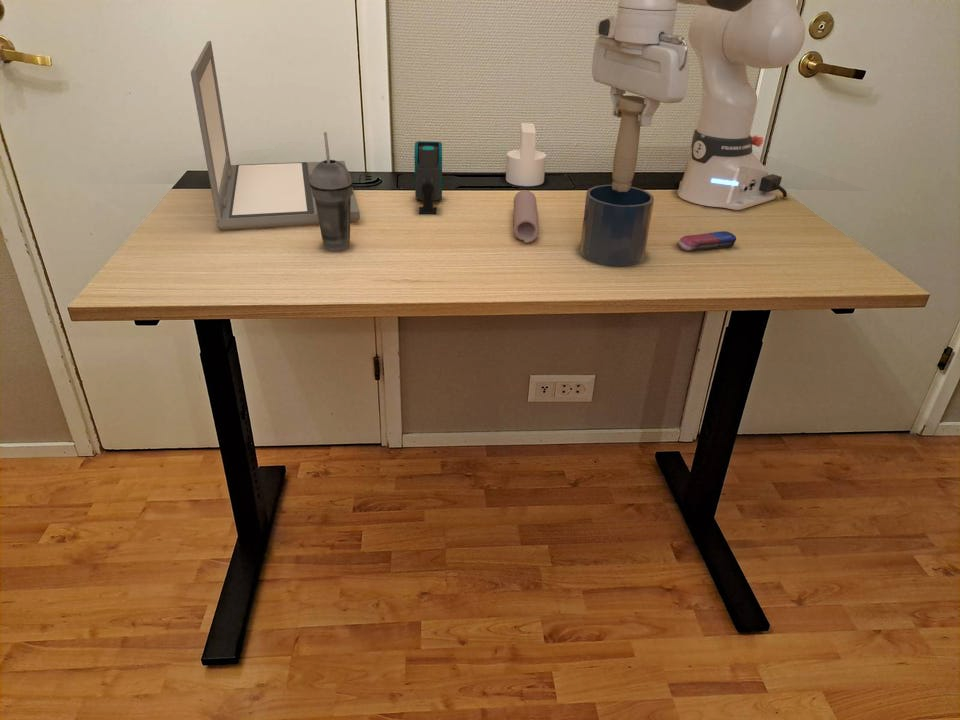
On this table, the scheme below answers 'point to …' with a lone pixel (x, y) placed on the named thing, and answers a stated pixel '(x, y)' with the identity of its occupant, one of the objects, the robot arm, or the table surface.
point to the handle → (627, 142)
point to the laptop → (250, 170)
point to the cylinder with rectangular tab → (526, 160)
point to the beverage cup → (332, 201)
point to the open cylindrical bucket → (616, 225)
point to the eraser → (707, 241)
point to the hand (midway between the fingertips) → (630, 121)
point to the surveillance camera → (428, 174)
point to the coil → (525, 216)
